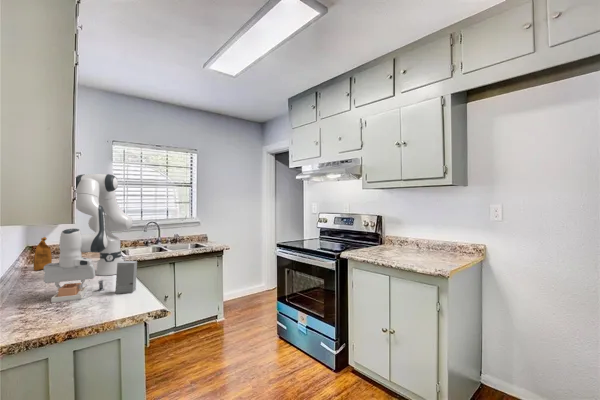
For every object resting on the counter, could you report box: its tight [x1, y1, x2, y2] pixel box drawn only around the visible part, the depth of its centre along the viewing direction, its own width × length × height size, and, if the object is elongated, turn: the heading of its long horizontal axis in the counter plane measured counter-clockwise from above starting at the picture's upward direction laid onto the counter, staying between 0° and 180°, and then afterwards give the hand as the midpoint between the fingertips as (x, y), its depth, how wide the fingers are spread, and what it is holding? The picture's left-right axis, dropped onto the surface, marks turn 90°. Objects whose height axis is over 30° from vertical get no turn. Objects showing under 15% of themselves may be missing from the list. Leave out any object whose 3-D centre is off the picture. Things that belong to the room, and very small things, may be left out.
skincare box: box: [115, 260, 138, 295], centre depth 157 cm, size 8×7×16 cm
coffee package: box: [33, 236, 53, 271], centre depth 210 cm, size 10×12×22 cm
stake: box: [97, 280, 105, 292], centre depth 159 cm, size 4×3×5 cm
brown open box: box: [57, 282, 82, 297], centre depth 148 cm, size 12×7×4 cm, turn 24°
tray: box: [50, 286, 88, 304], centre depth 148 cm, size 16×11×2 cm
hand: (70, 289), depth 148 cm, fingers closed on brown open box, 7 cm apart
